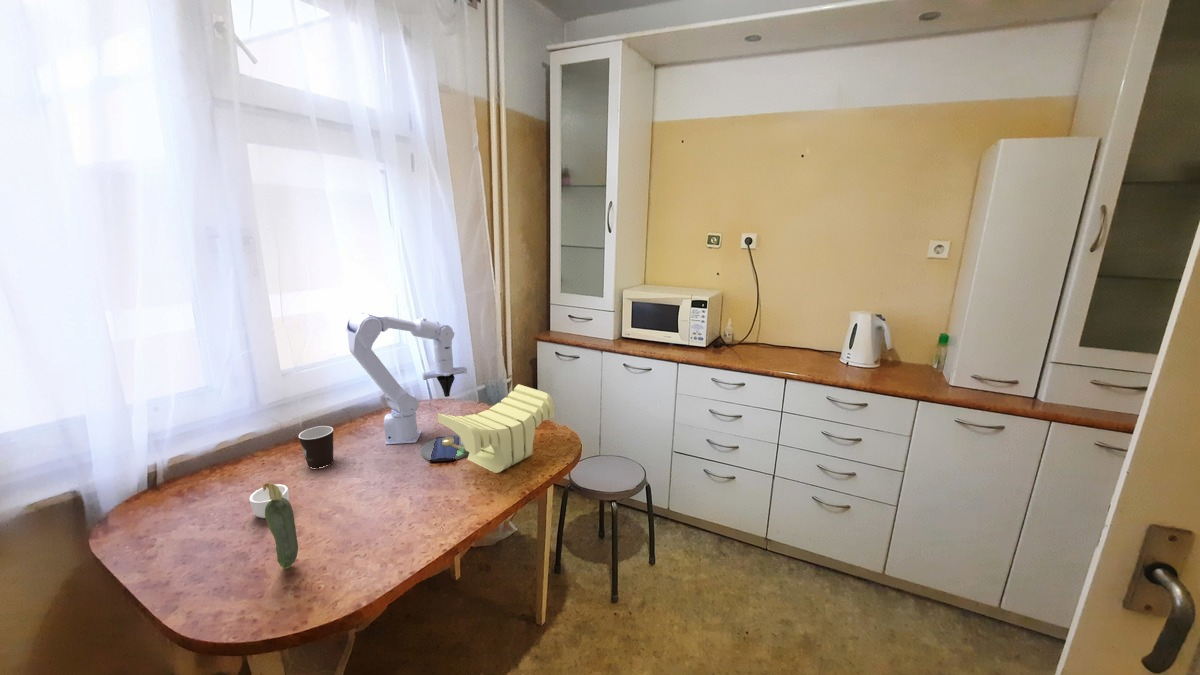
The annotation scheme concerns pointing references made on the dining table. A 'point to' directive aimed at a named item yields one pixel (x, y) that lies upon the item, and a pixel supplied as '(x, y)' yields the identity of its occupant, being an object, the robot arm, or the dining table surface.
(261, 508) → the teacup
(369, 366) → the robot arm
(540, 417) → the slatted curved stool
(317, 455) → the coffee mug
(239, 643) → the dining table surface
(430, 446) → the dial plate
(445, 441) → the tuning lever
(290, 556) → the vegetable
